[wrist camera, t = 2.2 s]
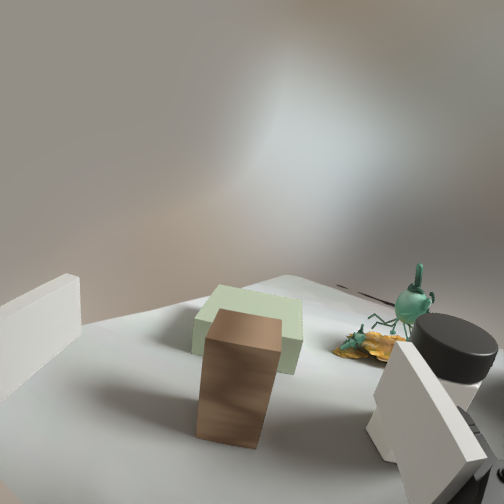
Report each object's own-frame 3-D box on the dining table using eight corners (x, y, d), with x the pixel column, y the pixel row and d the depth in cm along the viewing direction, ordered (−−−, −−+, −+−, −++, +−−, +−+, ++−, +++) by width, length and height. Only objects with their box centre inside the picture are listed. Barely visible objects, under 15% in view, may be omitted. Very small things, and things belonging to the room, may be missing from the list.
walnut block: (260, 411, 27) (281, 319, 25) (255, 449, 22) (281, 351, 20) (208, 401, 27) (219, 308, 25) (195, 437, 22) (205, 337, 20)
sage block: (294, 331, 45) (301, 300, 44) (293, 377, 34) (303, 340, 33) (214, 315, 47) (218, 284, 45) (190, 355, 35) (194, 318, 34)
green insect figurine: (327, 330, 47) (360, 239, 43) (423, 355, 45) (459, 274, 42) (331, 362, 37) (375, 252, 34) (442, 387, 36) (489, 292, 32)
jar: (456, 457, 20) (518, 352, 17) (391, 479, 19) (461, 362, 16) (415, 407, 29) (457, 310, 26) (355, 415, 27) (396, 308, 24)
